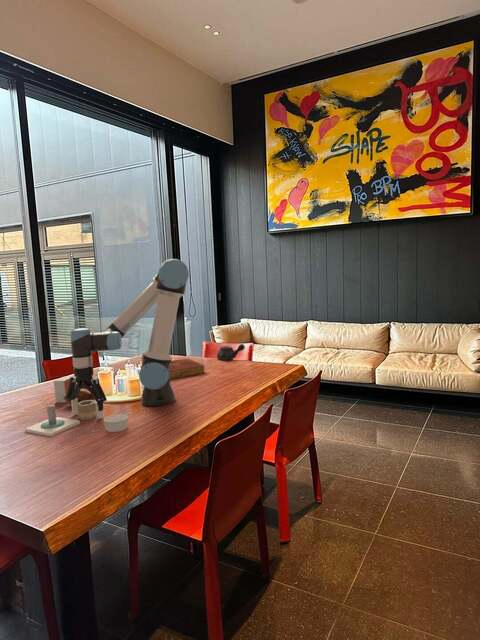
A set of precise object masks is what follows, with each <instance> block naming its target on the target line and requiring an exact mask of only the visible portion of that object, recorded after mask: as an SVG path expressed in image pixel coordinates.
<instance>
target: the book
mask: <svg viewBox="0 0 480 640" xmlns="http://www.w3.org/2000/svg"><path fill="white" fill-rule="evenodd" d="M169 372H170V380H172V379H177V378H179V379H180V378H184V377H188V376H194V375H200V374H205V364H202V363H200V362H197V361H196V360H192V359H191V358H181V359H177V360H171V364H170V369H169Z"/></svg>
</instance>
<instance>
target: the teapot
mask: <svg viewBox="0 0 480 640" xmlns="http://www.w3.org/2000/svg"><path fill="white" fill-rule="evenodd" d="M245 348H246V347H245V345H244V344H243V343H241V344H239V345H238V346H237V348H236V349H235V350H234V348H233V346H230V345H226V346H220V347H219V349H218V351H217V354H216V357H217V359H218V360H222V361H229V360H233V359H236V357H237V355H238V353H239V352H242V351H243V350H245Z"/></svg>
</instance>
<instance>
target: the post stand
mask: <svg viewBox="0 0 480 640" xmlns="http://www.w3.org/2000/svg"><path fill="white" fill-rule="evenodd" d="M46 410H47V419H45V420H43V421H40V422H38V423H36V424H33V425H30V426H28V427H26V428H25V427H24V432H25V433H29V434H30V433H31V434H35V435H41V436H46V437H50V438H51V437H53V436H56V435H57V434H61V433H63V432H65V431H67V430H70V429H71V428H74V427H77V426H78V425H81V420H80V419H73V418H72V419H71V418H66V417H60V416H59V417H58V416H57V414H56V413H57V412H56V406H55V404H51V405H50V404H49V405H47V406H46Z"/></svg>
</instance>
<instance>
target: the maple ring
mask: <svg viewBox="0 0 480 640" xmlns="http://www.w3.org/2000/svg"><path fill="white" fill-rule="evenodd" d="M96 403H97V402H96V400H86V401H81V402H79V403H77V408H78V414H77V415H78V416H77V417H78V419H77V420H79V421H88V420H93V419H95V418H97V414H96Z"/></svg>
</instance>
